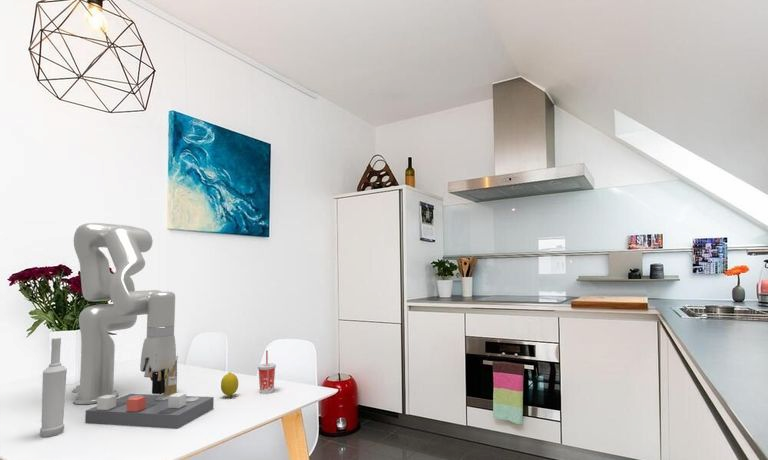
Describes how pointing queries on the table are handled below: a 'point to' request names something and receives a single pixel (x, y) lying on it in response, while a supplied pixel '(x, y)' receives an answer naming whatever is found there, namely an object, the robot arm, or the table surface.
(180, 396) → the right switch
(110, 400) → the left switch
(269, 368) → the beverage cup
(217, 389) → the table surface
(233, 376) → the lemon
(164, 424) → the switch panel
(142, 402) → the red switch
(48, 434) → the bottle
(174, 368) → the sprinkles bottle
